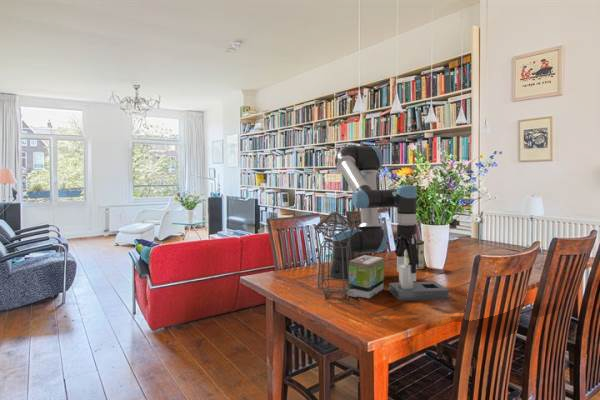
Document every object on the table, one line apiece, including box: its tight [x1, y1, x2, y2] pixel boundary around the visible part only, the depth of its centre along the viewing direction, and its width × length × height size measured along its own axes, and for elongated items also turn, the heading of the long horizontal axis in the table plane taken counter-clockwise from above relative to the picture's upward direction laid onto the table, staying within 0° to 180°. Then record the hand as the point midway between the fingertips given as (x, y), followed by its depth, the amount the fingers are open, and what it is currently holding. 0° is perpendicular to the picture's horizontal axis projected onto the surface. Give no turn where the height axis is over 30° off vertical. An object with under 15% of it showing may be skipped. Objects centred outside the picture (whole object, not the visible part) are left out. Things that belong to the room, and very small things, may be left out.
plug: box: [398, 264, 414, 289], centre depth 152 cm, size 4×4×13 cm
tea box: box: [347, 254, 385, 299], centre depth 157 cm, size 15×10×15 cm, turn 146°
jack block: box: [388, 281, 450, 302], centre depth 153 cm, size 20×12×4 cm, turn 94°
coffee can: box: [403, 239, 425, 270], centre depth 202 cm, size 10×10×14 cm
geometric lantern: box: [313, 211, 356, 299], centre depth 155 cm, size 16×16×35 cm
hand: (406, 276), depth 152 cm, fingers open, 13 cm apart
